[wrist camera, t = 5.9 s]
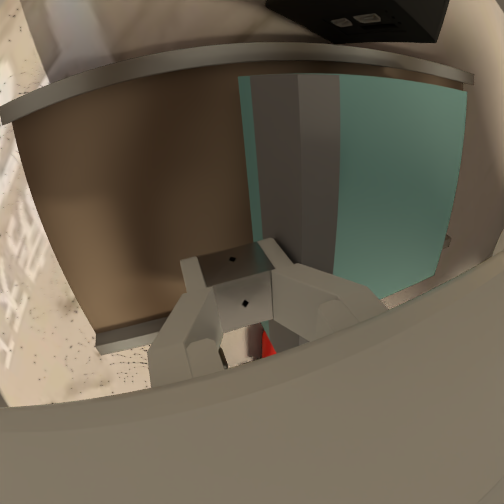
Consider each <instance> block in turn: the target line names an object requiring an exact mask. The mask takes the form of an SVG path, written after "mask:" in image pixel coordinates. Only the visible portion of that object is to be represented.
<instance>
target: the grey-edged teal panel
mask: <svg viewBox="0 0 504 504" xmlns="http://www.w3.org/2000/svg"><path fill="white" fill-rule="evenodd" d="M238 83H239V93H240V104H241V114H242V125H243V135H244V146H245V156H246V167H247V178H248V188H249V199H250V210H251V220H252V231H253V242H256V241H259V240H263V239H266V238H270V237H271V238H273V239H274V240H275V241H276V243H277V244H278V245H279V246H280V248H281V249H282V250H283V251H284V253H285V254H286V255H287V256H288V258H289V259H290V260H291V261H292V263H293V264H296V263H300V264H303V265H306V266H308V267H311V268H314V269H317V270H320V271H323V272H326V273H329V274H332V275H335V276H338V277H341V278H344V279H347V280H350V281H353V282H355V283H358V284H361V285H364V286H367V287H368V288H369V289H370V290H371V291H372V292H373V293H374V294H375V296H376V297H377V298H378V299H379V300H380V299H382V298H385V297H387V296H389V295H391V294H394V293H396V292H398V291H401V290H403V289H405V288H407V287H410V286H412V285H414V284H416V283H418V282H421V281H423V280H425V279H427V278H429V277H431V276H433V275H434V274H435V271H436V268H437V264H438V261H439V258H440V254H441V251H442V247H443V244H444V240H445V236H446V232H447V228H448V224H449V220H450V216H451V212H452V207H453V202H454V198H455V193H456V187H457V182H458V176H459V170H460V164H461V157H462V149H463V141H464V132H465V120H466V106H467V92H465V91H461V90H457V89H453V88H448V87H443V86H438V85H433V84H427V83H422V82H415V81H409V80H402V79H394V78H385V77H375V76H364V75H349V74H324V73H293V74H267V75H252V76H240V77H238ZM261 324H262V326H263V328H264V330H265V332H266V334H267V336H268V338H269V340H270V342H271V344H272V346H273V348H274V350H275V352H276V353H280V352H283V351H286V350H289V349H291V348H294V347H297V346H300V345H303V344H306V343H308V342H310V341H308V340H306V339H305V338H303V337H301V336H300V335H298V334H296V333H295V332H293V331H291V330H290V329H288V328H286V327H285V326H283V325H281V324H280V323H278V322H276V321H275V320H274V319H271V320H267V321H263V322H261Z"/></svg>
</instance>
